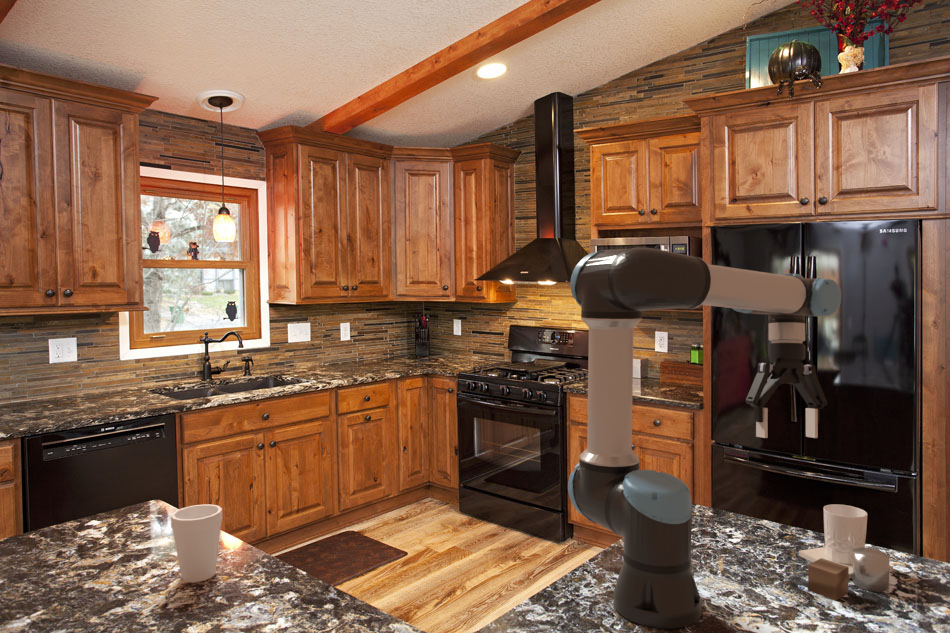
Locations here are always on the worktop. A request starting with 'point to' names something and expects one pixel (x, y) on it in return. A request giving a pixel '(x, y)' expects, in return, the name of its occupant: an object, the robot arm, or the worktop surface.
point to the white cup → (844, 531)
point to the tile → (821, 553)
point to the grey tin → (871, 569)
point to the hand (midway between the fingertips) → (787, 437)
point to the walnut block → (828, 579)
